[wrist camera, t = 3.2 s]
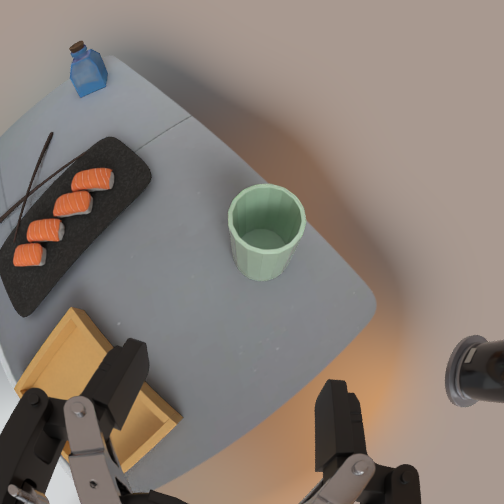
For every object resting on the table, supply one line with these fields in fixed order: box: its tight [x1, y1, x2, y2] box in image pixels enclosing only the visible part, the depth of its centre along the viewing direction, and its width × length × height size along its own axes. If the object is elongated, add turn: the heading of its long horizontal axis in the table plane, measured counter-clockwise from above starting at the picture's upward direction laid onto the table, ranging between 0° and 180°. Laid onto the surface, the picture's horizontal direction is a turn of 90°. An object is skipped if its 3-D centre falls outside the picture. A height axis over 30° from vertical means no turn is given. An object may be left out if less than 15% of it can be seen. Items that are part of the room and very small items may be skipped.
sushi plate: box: [0, 132, 152, 317], centre depth 34 cm, size 29×30×4 cm
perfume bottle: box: [69, 41, 108, 98], centre depth 39 cm, size 6×6×12 cm
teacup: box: [228, 184, 306, 281], centre depth 28 cm, size 7×7×10 cm
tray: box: [14, 307, 183, 473], centre depth 25 cm, size 18×17×3 cm
